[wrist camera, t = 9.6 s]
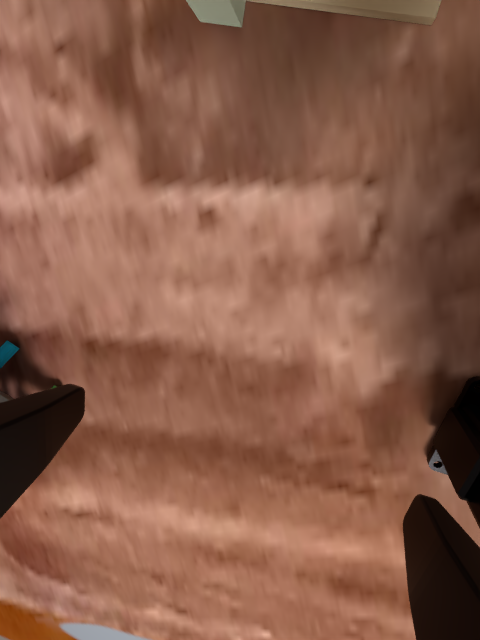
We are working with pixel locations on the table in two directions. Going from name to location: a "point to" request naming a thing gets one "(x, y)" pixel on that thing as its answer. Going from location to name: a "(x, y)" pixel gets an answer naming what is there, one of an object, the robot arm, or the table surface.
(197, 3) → the sage board
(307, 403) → the table surface
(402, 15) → the maple jig
